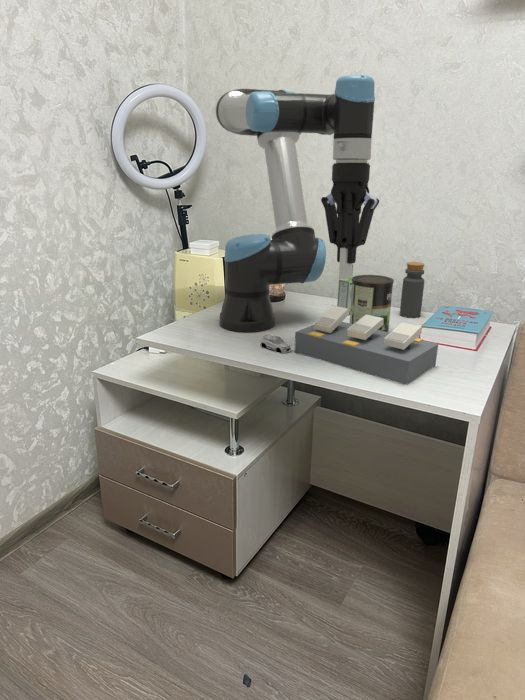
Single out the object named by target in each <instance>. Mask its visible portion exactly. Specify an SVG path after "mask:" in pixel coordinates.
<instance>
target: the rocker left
mask: <svg viewBox="0 0 525 700" xmlns="http://www.w3.org/2000/svg"><path fill="white" fill-rule="evenodd" d="M349 315H350V314H349V310H348V309H347V308H342V307H338V306H337V305H331V306H330V307H329V308H328V309H327V310H326V311H325V312H324V313H322V315H321V316H319V318H318V319H316V320H315V321H314V322H313V324H312V325H314V329H315V330H319V331H323V332H327V333H331V332H332V331H333V330H334V329H335V328H336V327H337V326H338V325H339V324H340V323H341V322H344V320H345V319H346V318H348V316H349Z"/></svg>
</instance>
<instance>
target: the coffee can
mask: <svg viewBox="0 0 525 700" xmlns="http://www.w3.org/2000/svg"><path fill="white" fill-rule="evenodd" d="M394 282H395V281H394V278H392V277H389V276H385V275H379V274H359V275H355V277H353V278H352V295H351V311H350V314H349V315H350V316H349V323H350V324H355V323H356V322H357V321H358V320H360V319H361V318H362V317H364V316H365V315H371V316H376V317H380V318H384V325H383V326H381V327H380V328H379V329H378V330H380V331H385V332H389V329H390V317H391V308H392V299H393V298H392V297H393V285H394Z"/></svg>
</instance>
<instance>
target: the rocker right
mask: <svg viewBox="0 0 525 700" xmlns="http://www.w3.org/2000/svg"><path fill="white" fill-rule="evenodd" d="M422 329H423V327H422V326H421V325H417V324H411V323H408V322H404V321H403V322H401V323H400V324H399V325H398V326H397V327H395V328H394V329H393V330H392V331H391V332H389V333H390V334H389V335H388V336H386V337H385V338H384V345H387V346H391V347H395V348H399V349H403V350H404V349H405V348H406V347H407V346H409V345H410V344H411V343H412V342H413V341H414V340H415V339H416V338H419V337H420V335H422Z"/></svg>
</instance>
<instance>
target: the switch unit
mask: <svg viewBox="0 0 525 700" xmlns="http://www.w3.org/2000/svg"><path fill="white" fill-rule="evenodd" d="M352 325H353V324H350V322H345V321H342V322H341V323H340V324H339V325H338V326H337V327H336V328H335V329H334V330H333V331H332V332H331V333H327V332H323V331H319V330H315V329H314V324H312V325H309V326H307V327H304V328H301V329H299V330H296V331H295V332H294V335H295V337H294V338H295V339H294V353H296V354H300V355H303V356H307V357H310V358H314V359H317V360H320V361H324V362H328V363H331V364H334V365H338V366H342V367H344V368H348V369H351V370H355V371H358V372H362V373H364V374H368V375H372V376H375V377H378V378H382V379H385V380H389V381H392V382H396V383H399V384H402V385H405V386H406V385H408V384H410V383H411V382H413V381H414V380H416V379H418V378H419V377H420V376H422V375H424V374H425V373H427V372H428V371H430V370H432V368H434V367H436V364H437V356H438V348H439V343H437V342H432V341H428V340H424V339H423V338H419V337H417V338H416V339H415V340H414V341H413V342H412V343H411V344H410V345H409V346H407V347H406V348H405V349H404V350H403V349H399V348H395V347H391V346H387V345H384V338H385V337H386V336H388V335H389V334H390V333H391V332H389V331H388V332H385V331H380V330H377V331H375V332H374V333H373V334H372V335H371V336H369V337H368V338H367V339H366V340H363V339H359V338H355V337H351V336H348V335H347V329H348V328H349V327H351V326H352Z"/></svg>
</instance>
